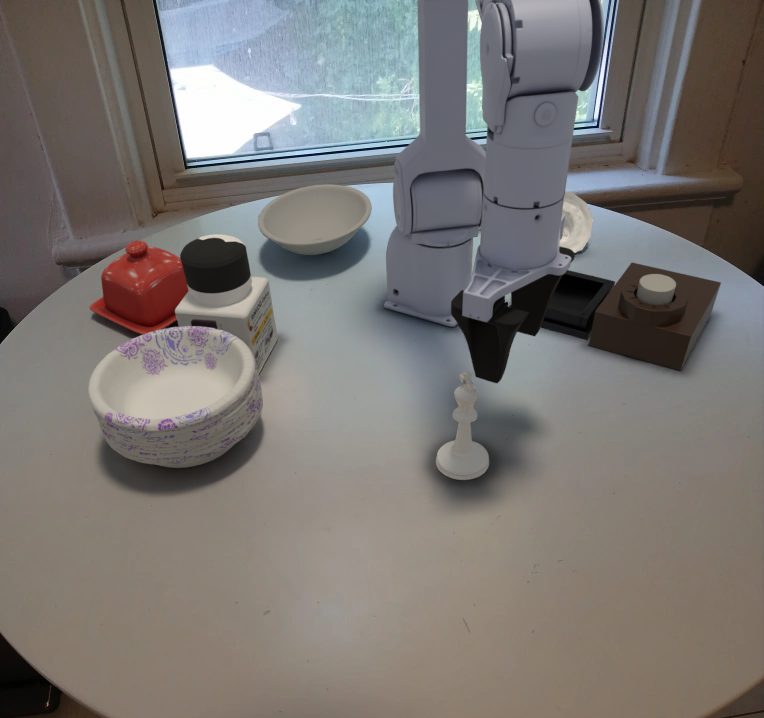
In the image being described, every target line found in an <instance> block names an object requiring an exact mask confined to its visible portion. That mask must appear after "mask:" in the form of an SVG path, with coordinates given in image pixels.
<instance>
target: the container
mask: <svg viewBox="0 0 764 718" xmlns="http://www.w3.org/2000/svg"><path fill="white" fill-rule="evenodd" d="M179 258H181V262H182V266H183V270H184V274H185V278H186V282H187V286H188V290H189V291H188V293H187V294H186V295H185V297H184V298H183V299H182V301H181V302H180V303H179V305H178V306H177V307H176V309H175V314H176V318H177V320H176V321H177V324H178V327H182V326H202V327H210V328H215V329H219V330H223V331H226V332H228V333H231V334H232V335H234V336H236V337H238V338H239V339H240V340H242V341H243V342H244V343H245V344H246V345H247V346H248V347H249V349H250V350H251V352H252V354H253V356H254V359H255V362H256V369H257V372H258V375H260V372H261V370H263V367H264V365H265V364H266V361H267V360H268V358H269V356H270V354H271V352H272V350H273V348H274V347H275V345H276V343H277V341H278V339H279V337H278V332H277V331H278V330H277V324H276V319H275V312H274V306H273V300H272V295H271V288H270V281H269V280H268V278H267V277H263V276H252V272H251V268H250V263H249V257H248V251H247V246H246V244H245V242H243V241H242V240H240V239H239V238H238V237H235V236H233V235H228V234H218V233H217V234H216V233H215V234H207V235H203V236H200V237H197V238H195V239H194V240H191V241H190V242H188V243H187V244H186V245H184V247H183V248H182V250H181V252H180V254H179Z"/></svg>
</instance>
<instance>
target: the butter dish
mask: <svg viewBox="0 0 764 718" xmlns="http://www.w3.org/2000/svg"><path fill="white" fill-rule="evenodd" d="M100 280H101V289H102V296H101V297H100V298H98V299H96V300H95V301H94V302H93V303H91V304H90V306H89V310H90V311H91V312H93V313H94V314H96V315H98V316H101V317H103V318H105V319H107V320H109V321H111V322H113V323H114V324H117V325H120V326H121V327H123V328H125V329H128V330H130V331H132V332H134V333H137V334H139V335H144V334H147V333H150V332H153V331H157V330H162V329H166V328H168V327H169V326H170V325H172V324H173V323H175V322H176V321H177V318H176V314H175V309H176V307H177V306H178V305H179V303H180V302H181V301H182V299H183V298H184V297H185V295H186V294H187V293H188V291H189V290H188V286H187V282H186V278H185V274H184V270H183V266H182V262H181V258H180V256H178V255H176V254H175V253H172V252H170V251H168V250H165V249H162V248H159V247H155V246H149V245H148V243H147V242H146V241H144V240H132V241H131V242H129V243H127V245H126V246H125V253H124V254H122V255H120V256H119V257H117V258H116V259H114V260H112V262H110V263H109V264H108V265H106V266H105V268H104V269H103V270H102V272H101V276H100Z"/></svg>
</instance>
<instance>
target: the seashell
mask: <svg viewBox="0 0 764 718" xmlns="http://www.w3.org/2000/svg"><path fill="white" fill-rule="evenodd" d="M562 215H565V222H564V229H563V236H562V239H561V240H560V245H559V246H560V247H565V248H569V249H571V250H572V251H573V252H574V254H575V253H577V252H580V251H583V250H584V248H585V246H586V245H587V243H588V241H589V240H590V239H591V237H592V234H593V233H592V232H591V231H592V228H593V223H594V221H595V218H594V215H593V214H592V212H591V208H590V207H588V203H587V202H586V201H585V200H583V199H582V198H580V197H579V196H578V195H576V193H574V192H573V191H568V190H567V191H566V190H565V195H564V202H563V210H562Z"/></svg>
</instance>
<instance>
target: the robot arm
mask: <svg viewBox="0 0 764 718" xmlns="http://www.w3.org/2000/svg"><path fill="white" fill-rule="evenodd" d="M474 2H475V6H476V9H477V12H478V16H479V19H480V22H481V25H480V34H479V62H480V75H481V86H482V94H481V110H482V114H481V115H482V120H483V121H484V123H485V124H486V143H485V149H484V148H483V147H482V146H481V145H480V144H479V143H477V142H475V140H473V139H472V138H470V137H469V136H468V135H467V101H468V100H467V95H468V91H467V90H468V39H469V38H468V36H469V35H468V33H469V32H468V31H469V0H417V2H416V3H417V49H418V55H417V56H418V92H419V93H418V98H419V102H418V103H419V134H418V135H417V137H415V139H413V140H412V141H411V142H410V143H409V144H408V145H407V146H406V147H405V148H404V149H402V150H401V151H400V152H399V153H398V155H397V156H396V157H395V162H394V165H393V169H394V171H393V172H394V177H393V178H394V179H393V185H392V200H393V201H392V202H393V212H394V219H395V224H396V225H395V227H394V228H393V230H392V231H391V233H390V236H389V237H388V241H387V244H386V245H387V246H386V251H385V268H386V270H385V271H386V272H385V273H386V297H387V300H386V301H385V302H384V304H383V305H384V308H385V309H388V310H391V311H395V312H398V313H401V314H404V315H409V316H412V317H416V318H419V319H423V320H426V321H430V322H432V323H433V322H434V323H437V324H439V325H444V326H447V327H451V328H452V327H453V328H454V327H456V326H458V327H459V328H460V329H461V332H462V334H463V336H464V339H465V341H466V344H467V347H468V351H469V355H470V359H471V363H472V369H473V372H474V377H475V378H477V379H480V380H483V381H487V382H490V383H493V384H499V382H501V380H502V378H503V376H504V374H505V372H506V368H507V365H508V362H509V360H508V359H509V357H510V352H511V349H512V345H513V343H514V340H515V337H516V335H517V333H520V334H524V335H527V336H532V337H536V336H537V335H538V333H539V331H540V330H541V328H542V327H541V325H542V323H543V320H544V317H545V315H546V312H547V309H548V306H549V304H550V301H551V298H552V296H553V293H554V291H555V289H556V287H557V285H558V283H559V281H560V279H561V278H562V276H563V274H564V273H565V272H566V271H567V270H569V269H570V268H571V264H572V263H573V261H574V260H575V253H574V252H573V251H572V250H571V249H569V248H565V247H560V246H559V245H560V240H561V239H562V236H563V229H564V222H565V215H562V210H563V202H564V195H565V191H566V188H567V180H568V174H569V166H570V159H571V153H572V145H573V139H574V138H573V137H574V130H575V125H576V117H577V109H578V102H579V95H578V94H577V92H578V91H580V92H585V91H587V90H589V88H591V86H592V85H593V83H594V81H595V79H596V76H597V74H598V71H599V68H600V64H601V60H602V55H603V47H604V34H605V24H604V19H605V18H604V11H603V10H604V9H603V4H602V0H474ZM479 227H481V230H480V241H479V245H478V246H477V248H476V254H475V258H474V263H473V252H474V238H478V237H479V230H478V229H479ZM508 295H510V305H511V308H510V307H509V302H508V301H506V296H508Z"/></svg>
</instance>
